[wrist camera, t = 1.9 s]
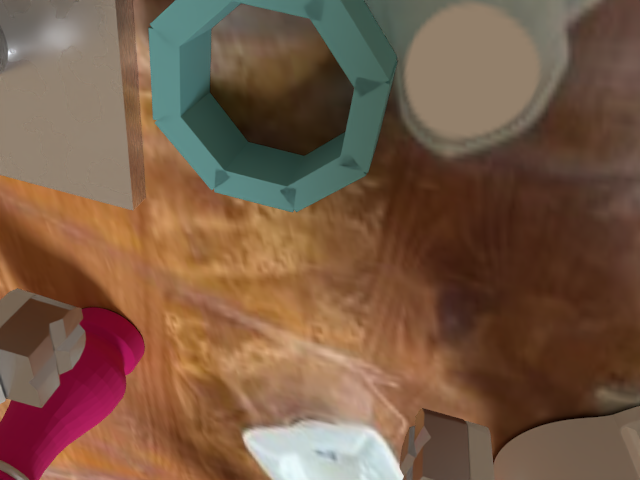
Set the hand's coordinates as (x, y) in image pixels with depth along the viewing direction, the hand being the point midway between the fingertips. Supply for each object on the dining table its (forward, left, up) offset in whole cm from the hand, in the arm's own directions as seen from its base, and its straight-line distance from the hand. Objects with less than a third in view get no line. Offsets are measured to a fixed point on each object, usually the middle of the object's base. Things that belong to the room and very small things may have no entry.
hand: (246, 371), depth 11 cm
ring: (+4, -1, -17) cm, 17 cm away
